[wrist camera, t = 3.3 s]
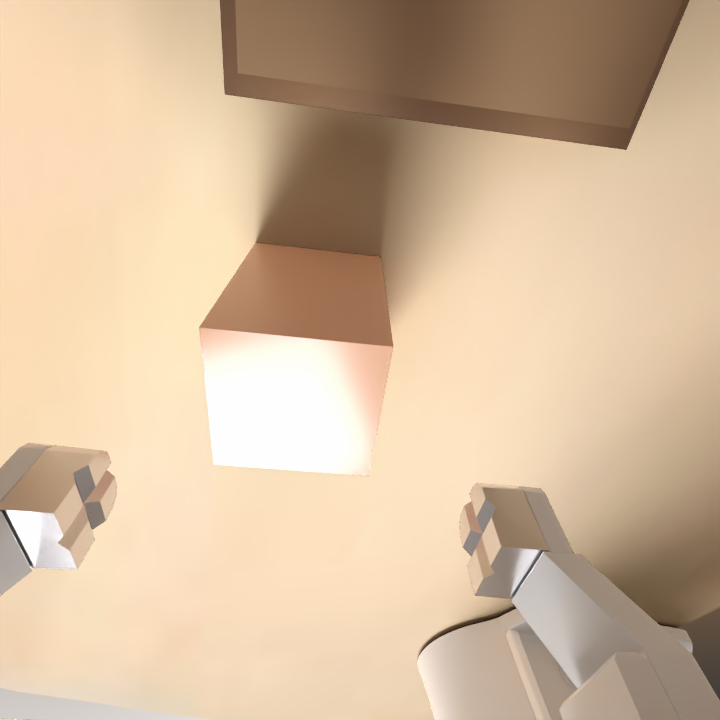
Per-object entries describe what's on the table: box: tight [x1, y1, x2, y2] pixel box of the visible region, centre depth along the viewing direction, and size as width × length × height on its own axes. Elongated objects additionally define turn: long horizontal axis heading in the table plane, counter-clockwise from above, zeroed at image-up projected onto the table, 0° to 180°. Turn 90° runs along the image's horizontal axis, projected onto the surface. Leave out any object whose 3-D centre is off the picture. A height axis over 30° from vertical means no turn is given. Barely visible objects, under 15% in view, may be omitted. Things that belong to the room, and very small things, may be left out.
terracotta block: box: [199, 243, 393, 476], centre depth 15 cm, size 5×5×7 cm
